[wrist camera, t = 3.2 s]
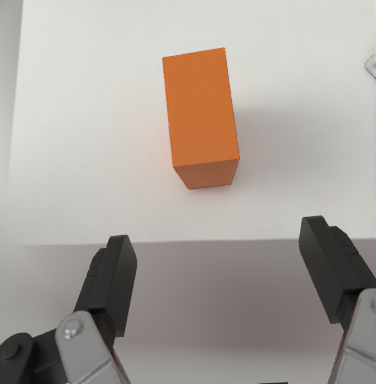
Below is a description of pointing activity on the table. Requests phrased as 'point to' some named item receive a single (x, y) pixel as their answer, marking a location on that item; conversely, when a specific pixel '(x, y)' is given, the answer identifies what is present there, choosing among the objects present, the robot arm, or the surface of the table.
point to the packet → (201, 118)
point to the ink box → (372, 65)
